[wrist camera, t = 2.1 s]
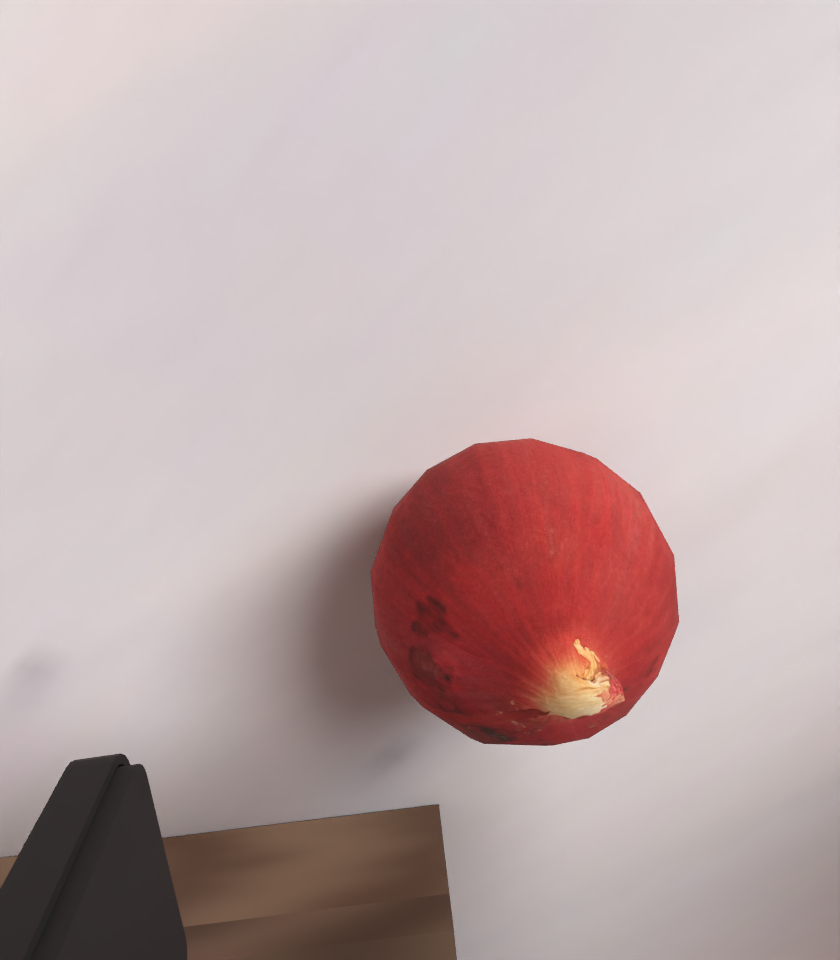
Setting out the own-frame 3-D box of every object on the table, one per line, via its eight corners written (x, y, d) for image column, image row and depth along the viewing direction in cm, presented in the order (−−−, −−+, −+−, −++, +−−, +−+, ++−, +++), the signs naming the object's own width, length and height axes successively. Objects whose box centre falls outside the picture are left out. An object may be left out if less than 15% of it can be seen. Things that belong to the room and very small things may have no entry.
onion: (506, 670, 20) (591, 937, 12) (325, 548, 18) (289, 760, 11) (655, 499, 18) (856, 672, 11) (473, 356, 17) (554, 438, 9)
